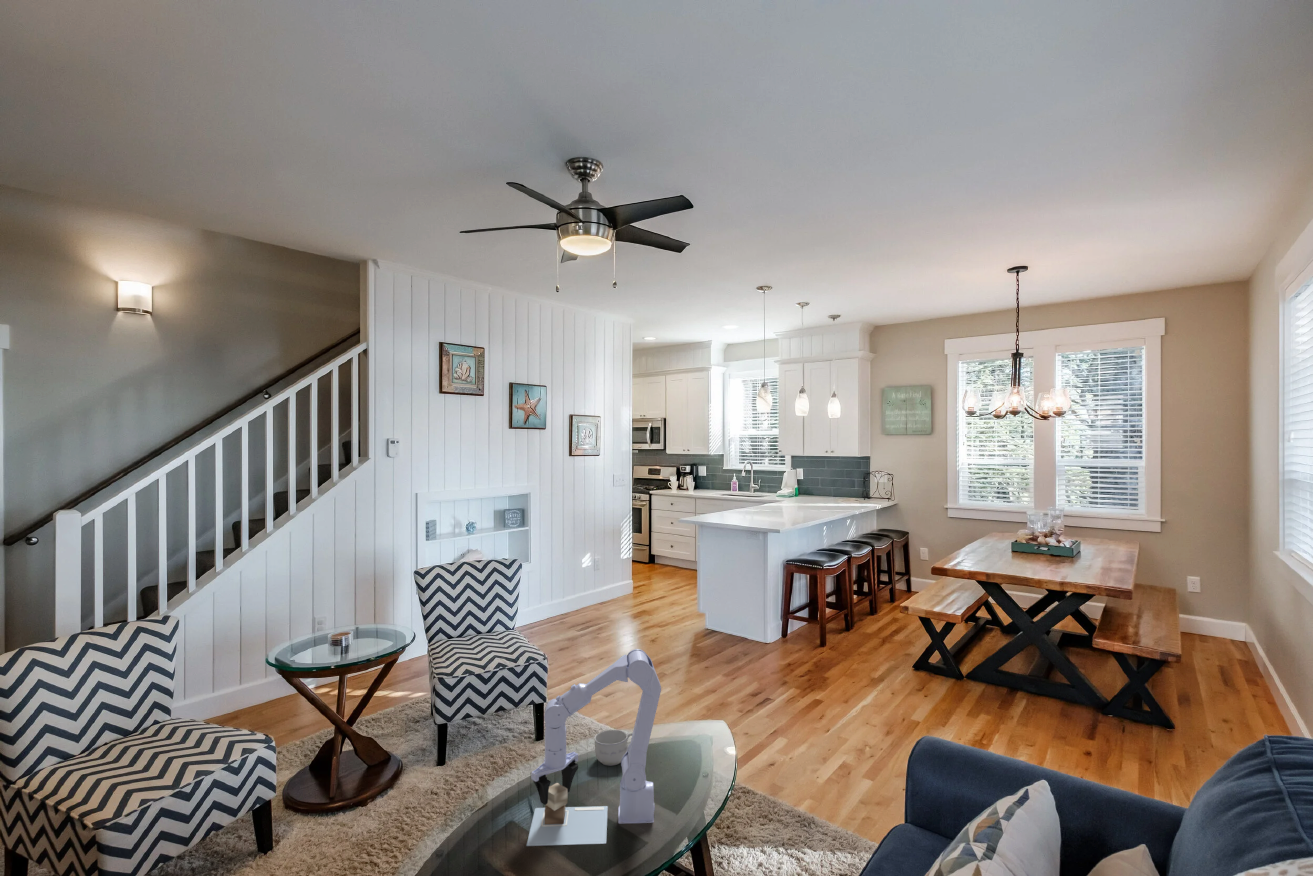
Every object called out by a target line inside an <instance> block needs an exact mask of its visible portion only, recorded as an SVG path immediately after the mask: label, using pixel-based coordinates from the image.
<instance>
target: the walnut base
mask: <svg viewBox="0 0 1313 876" xmlns="http://www.w3.org/2000/svg"><path fill="white" fill-rule="evenodd" d="M565 807H566V805H564V806H562V807H560V808H559V809H557V810H555V811H554V810H553V809H551V808H549V807H548V806H546V805H545V806H544V808H545V824H564V818H565Z"/></svg>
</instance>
